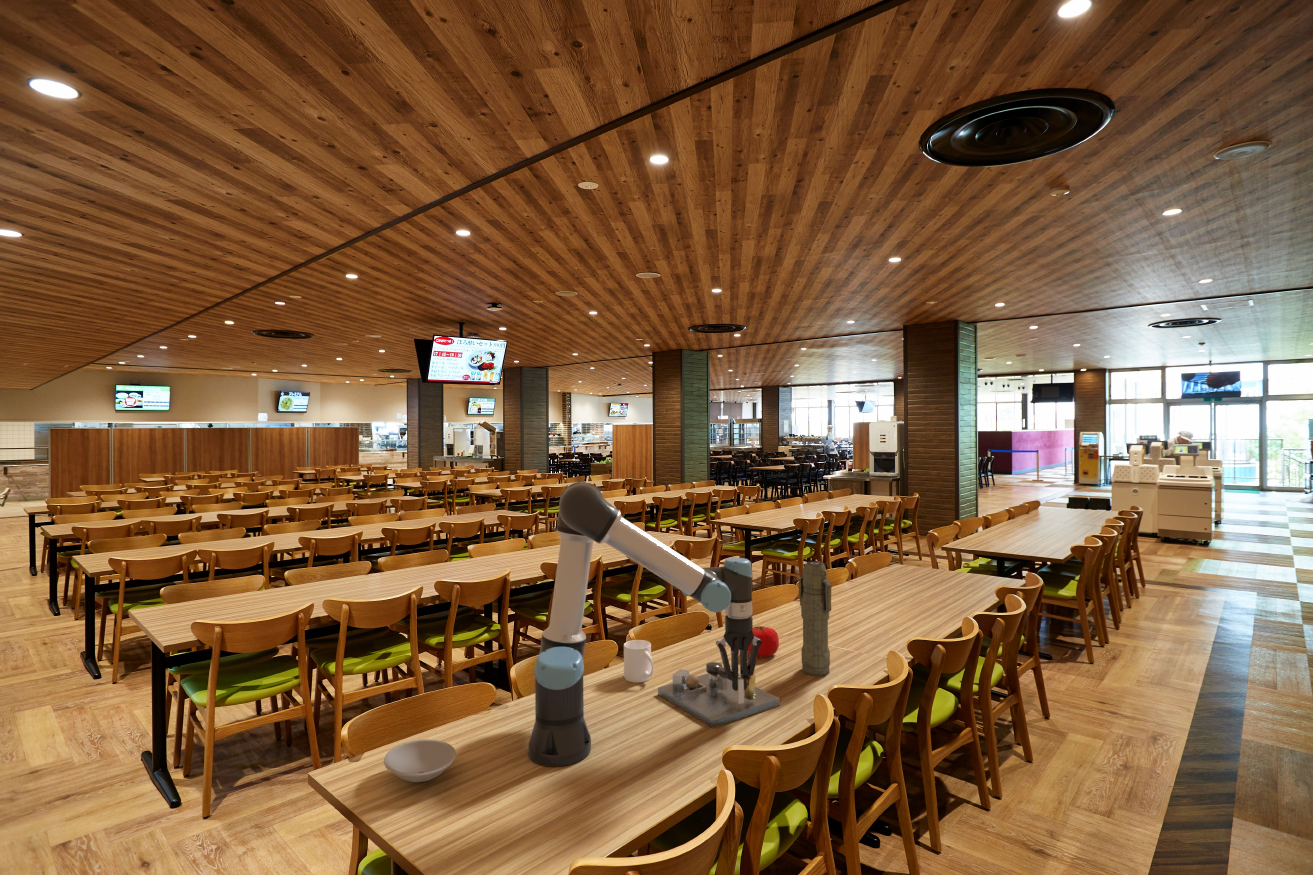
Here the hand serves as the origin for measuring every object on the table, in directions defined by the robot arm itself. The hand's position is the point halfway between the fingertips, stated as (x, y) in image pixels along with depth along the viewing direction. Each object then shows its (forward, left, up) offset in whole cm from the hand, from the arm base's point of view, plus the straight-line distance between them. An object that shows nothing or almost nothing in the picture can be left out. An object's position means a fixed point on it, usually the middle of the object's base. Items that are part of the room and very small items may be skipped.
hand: (739, 701), depth 170 cm
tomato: (+37, +30, -4) cm, 48 cm away
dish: (-80, +17, -4) cm, 82 cm away
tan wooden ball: (-3, +17, -1) cm, 17 cm away
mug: (-9, +36, -4) cm, 37 cm away
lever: (+4, +8, 0) cm, 9 cm away
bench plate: (+1, +11, -3) cm, 11 cm away
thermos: (+41, +9, -4) cm, 42 cm away
